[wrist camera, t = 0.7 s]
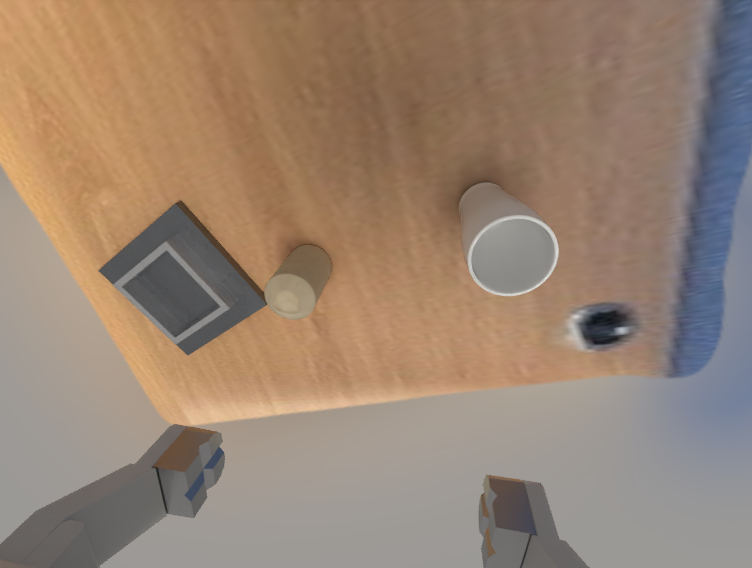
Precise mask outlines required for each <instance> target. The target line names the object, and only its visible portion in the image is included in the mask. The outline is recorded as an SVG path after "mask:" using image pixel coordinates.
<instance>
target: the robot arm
mask: <svg viewBox="0 0 752 568" xmlns="http://www.w3.org/2000/svg"><path fill="white" fill-rule="evenodd" d="M222 442H223V441H222V436H221V433H219V432H216V431H210V430H205V429H200V428H195V427H188V426H183V425H177V424H174V425H172V426H170V427H169V428H168V429H167V430H166V431H165V432H164V433H163V435H161V437H160V438H159V439H158V440H157V441H156V442H155V443H154V444H153V445H152V446H151V447H150V448H149V449H148V451H147V452H146V453H145V454H144V455H143V456H142V457H141V458H140V459H139V460H138V462H136V464H129V465H127V466H125V467H123V468H121V469H119V470H117V471H115V472H113V473H111V474H109V475H107V476H105V477H103V478H101V479H99V480H97V481H95V482H93V483H91V484H89V485H87V486H85V487H83V488H81V489H79V490H77V491H75V492H73V493H71V494H69V495H67V496H65V497H63V498H61V499H59V500H57V501H55V502H53V503H51V504H49V505H47V506H45V507H43V508H41V509H39V510H37V511H35V512H34V513H33V514H32V515H31V516H30V517H29V518H28V519H27V520H26V521H25V522H24V523H22V524H21V525H20V526H19V527H18V528H17V529H16V530H15V531H14V532H13V533H12V534H11V535H10V536H9V537H8V538H6V539H5V540H4V541H3V542H2V543H1V544H0V568H100V567H99V566H100V565H101V564H103V563H104V562H105V561H107V560H108V559H109V558H111V557H112V556H113V555H114V554H116V553H117V552H119V551H120V550H121V549H123V548H124V547H125V546H127V545H128V544H129V543H131V542H132V541H133V540H135V539H136V538H137V537H138V536H140V535H141V534H142V533H144V532H145V531H147V530H148V529H149V528H151V527H152V526H153V525H154V524H155V523H157V522H159V521H160V520H161V519H163V518H164V517H165V516H166V514H172V515H179V516H185V517H191V518H194V517H195V515H196V514H197V512H198V511H199V509H200V508H201V506H202V505H203V503H204V501H205V500H206V498H207V492H206V490H207V489H209V488H210V487H212V486H214V485H215V484H216V483H217V481H218V479H219V478H220V476H221V473H222V470H223V468H224V461H225V455H224V452H223V450H222V449H221V448H220V447H219V446H220V444H221V443H222ZM483 486H484V493H483V494H482V495H481V497H480V502H479V530H480V533H481V534H482V536H483V537H484V539H483V543H482V548H481V549H482V558H483V567H484V568H589V567H588V566H587V565H586V563H585V562H584V561H583V560H582V559H581V558H580V557H579V556H578V555H577V553H576V552H575V551H574V550H573V549H572V548H571V547H570V546H569V544H568V543H567V542H566V541H563V540H559V536H558V533H557V530H556V527H555V523H554V520H553V517H552V513H551V510H550V507H549V504H548V501H547V497H546V494H545V491H544V487H543V486H542V484H541V483H537V482H531V481H524V480H522V481H521V480H519V479H512V478H504V477H498V476H491V475H486V477H485V479H484V483H483Z"/></svg>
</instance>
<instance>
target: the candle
mask: <svg viewBox="0 0 752 568" xmlns="http://www.w3.org/2000/svg"><path fill="white" fill-rule="evenodd" d="M331 271H332V263H331V260H330V258H329V256H328V254H327V253H326V252H325V251H324V250H323V249H321V248H319V247H317V246H314V245H302V246H300V247H298V248H296V249H295V250H294V251H293V252H292V253H291V254H290V255H289V256H288V258H287V259H286V260H285V261H284V263H283V264H282V265H281V266H280V267H279V269H278V270H277V271H276V272H275V274H274V275H273V276H272V277H271V279H270V280H269V281H268V282H267V284H266V286H265V291H264V295H265V300H266V302H267V304H268V306H269V307H270V308H271V310H272V311H274V312H275V313H276V314H277V315H279V316H281V317H283V318H286V319H293V320H296V319H302V318H304V317H306V316H308V315H309V314H310V313H311V312H312V311H313V309H314V307H315V305H316V303H317V301H318V299H319V297H320V295H321V293H322V291H323V289H324V287H325V285H326V283H327V281H328V279H329V277H330V274H331Z"/></svg>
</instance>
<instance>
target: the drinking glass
mask: <svg viewBox="0 0 752 568" xmlns="http://www.w3.org/2000/svg"><path fill="white" fill-rule="evenodd" d="M459 215H460V223H461V244H462V251H463V255H464V259H465V262H466V264H467V267H468V269H469V272H470V274H471V276H472V278H473V279H474V281H475V282H476V283H477V284H478V285H479V286H480V287H481V288H483V289H484V290H486V291H488V292H490V293H492V294H496V295H501V296H515V295H520V294H524V293H527V292H529V291H531V290H533V289H535V288H537V287H538V286H540V285H541V284H542V283H543V282H545V281H546V279H547V278H548V277H549V276H550V275H551V273H552V272H553V270H554V268H555V266H556V263H557V260H558V254H559V247H558V242H557V239H556V236H555V234H554V233H553V231H552V230H551V228H550V227H549V226H548V225H547V223H546V222H545V221H544V220H543V219H542V217H541V216H540V215H539V214H538V213H537V212H535V211H534V210H533V209H532V208H531V207H529V206H528V205H526V204H525V203H523V202H522V201H520V200H518V199H517V198H515V197H513V196H512V195H510V194H509V193H507V192H505V191H504V190H503V189H502V188H501V187H500V186H498V185H496V184H493V183H488V182H484V183H479V184H476V185H474V186H472V187H470V188H469V189H468V190H467V191H466V192H465V193H464V194H463V196H462V197H461V200H460V203H459Z"/></svg>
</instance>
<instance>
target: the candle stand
mask: <svg viewBox="0 0 752 568" xmlns="http://www.w3.org/2000/svg"><path fill="white" fill-rule="evenodd" d="M98 271H99V272H100V273H101V274H102V275H104V276H105V277H106V278H107V279H108V280H109V281H110V282H111V283H112V284H113V286H114V287H115V288H117V289H118V290H119V291H120V292H121V293H122V294H123V295H124V296H125V297H126V298H127V299H128V300H129V301H130V302H131V303H132V304H133V305H134V306H136V307H137V308H138V309H139V310H140V311H141V312H142V313H143V314H144V315H145V316H146V317H147V318H148V319H149V320H150V321H151V322H152V323H153V324H154V325H156V326H157V327H158V328H159V329H160V330H161V331H162V332H163V333H164V334H165V335H166V336H167V337H168V338H169V339H170V340H171V341H172V342H173V343H175V344H176V345H177V346H178V347H179V348H180V349H182V350H183V351H184V352H185V353H186V354H187V355H189V354H191V353H192V352H194V351H196V350H197V349H199V348H200V347H202V346H203V345H205V344H206V343H208V342H210V341H211V340H213V339H214V338H216V337H217V336H219V335H220V334H222V333H224V332H225V331H227V330H228V329H230V328H231V327H233V326H235V325H236V324H238V323H239V322H241V321H242V320H244V319H245V318H247V317H249V316H250V315H252V314H253V313H255V312H256V311H258V310H259V309H261V308H263V307H264V306H266V305H267V302H266V300H265V295H264V293H263V292H262V291H261V289H260V288H259V287H258V286H257V285H256V284H255V283H254V282H253V280H252V279H251V278H250V277H249V276H248V275H247V274H246V273H245V272H244V270H243V269H242V268H241V267H240V266H239V265H238V264H237V263H236V261H235V260H234V259H233V258H232V257H231V256H230V255H229V254H228V252H227V251H226V250H225V249H224V248H223V247H222V246H221V245H220V244H219V242H218V241H217V240H216V239H215V238H214V237H213V236H212V235H211V233H210V232H209V231H208V230H207V229H206V228H205V227H204V226H203V225H202V223H201V222H200V221H199V220H198V219H197V218H196V217H195V216H194V214H193V213H192V212H191V211H190V210H189V209H188V208H187V207H186V206H185V204H184V203H183V202H182V201H180V202H178V203H176V204H174V205H173V206H172V207H171V208H170V209H169V210H168V211H166V212H165V213H164V214H163V215H162V216H161V217H160V218H158V219H157V220H156V221H155V222H154V223H153V224H151V225H150V226H149V227H148V228H147V229H146V230H145V231H143V232H142V233H141V234H140V235H139V236H138V237H136V238H135V239H134V240H133V241H132V242H131V243H130V244H128V245H127V246H126V247H125V248H124V249H123V250H121V251H120V252H119V253H118V254H117V255H116V256H115V257H113V258H112V259H111V260H110V261H109V262H108V263H106V264H105V265H104V266H103V267H102V268H101V269H100V270H98Z"/></svg>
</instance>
